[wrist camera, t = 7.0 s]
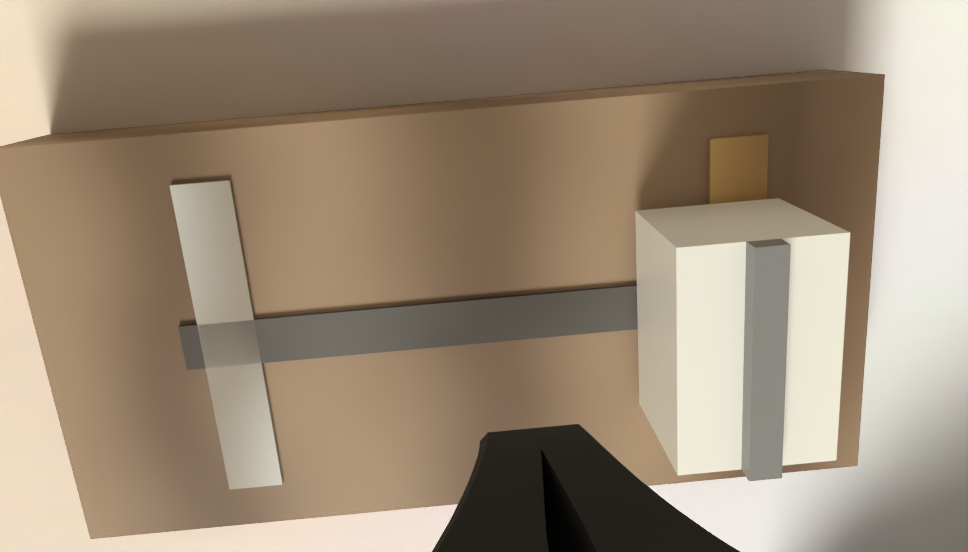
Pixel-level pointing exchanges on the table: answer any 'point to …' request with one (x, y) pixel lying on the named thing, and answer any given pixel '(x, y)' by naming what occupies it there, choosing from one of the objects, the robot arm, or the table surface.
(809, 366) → the fader knob
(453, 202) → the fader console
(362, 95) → the table surface
